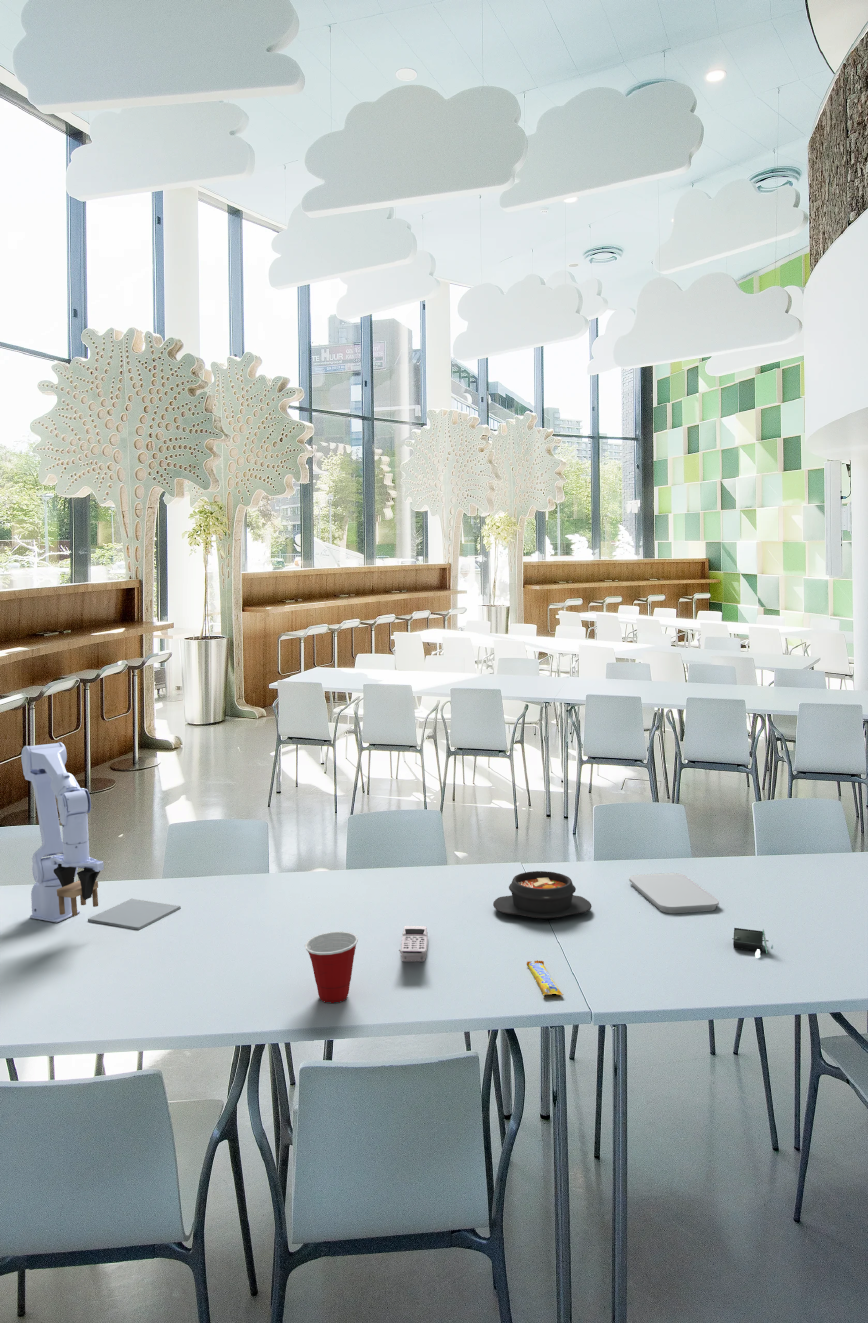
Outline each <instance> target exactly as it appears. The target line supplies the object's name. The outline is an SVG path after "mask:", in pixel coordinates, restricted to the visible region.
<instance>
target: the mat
mask: <svg viewBox="0 0 868 1323" xmlns="http://www.w3.org/2000/svg"><path fill="white" fill-rule="evenodd" d="M180 909H181V905H176V904H169V903H163V902H155V901H150V900H149V901H148V900H144V899H136V898H129V899H128V900H126V901H123V902H121V903H119V904H117V905H115V906H111V907H110V908H109V909H106V910H103V911H102V912H99V913H97V914H96V915H93V916H92V917H91V916H90V917H88V918H87V922H89V923H90V922H91V923H97V924H102V925H109V926H114V927H119V928H125V929H132V930H138V931H140V930H141V929H143V928H145V927H148V926H149V925H151V924H153V923H155V922H157V921H159V920H161V919H163V918H164V917H167V916H169V915H170V914H173V913H175V912H176V911H178V910H180Z"/></svg>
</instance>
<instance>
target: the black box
mask: <svg viewBox="0 0 868 1323" xmlns="http://www.w3.org/2000/svg"><path fill="white" fill-rule="evenodd" d="M733 929H734V930H733V938H732V940H733V949H735V950H736V949H738V950H745V951H753V952H755V953H754V957H755V958H756V959H759V958H761V953H763V944H764V948H765V953H766V955H768V951H769V950H768V946H767V945H768V944H767V942H769V940H767V939H766V934H765V933H766V932H765V929H764V928H763V929H762V930H754V929H746V928H739V927H738V928H737V927H734V928H733ZM763 942H764V943H763ZM772 948H773V947H771V949H772Z"/></svg>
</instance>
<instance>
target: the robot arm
mask: <svg viewBox="0 0 868 1323" xmlns="http://www.w3.org/2000/svg"><path fill="white" fill-rule="evenodd" d="M66 748H67V747H66V746H65V744H64V743H63V742H61V741H58V742H57V743H56V742H54V743H47V744H46V743H45V744H36V745H24V746H23V748H22V749H21V755H20V756H21V765H22V772H23V773H22V774H23V776H24V780H26V781H29V782H31V785H32V788H33V791H34V797H35V805H36V812H37V818H38V824H39V831H40V839H41V844H42V845H41V846H40V847H39V848H38V849H36V851H34V853H33V854H32V858H31V859H32V868H31V870H32V876H33V880H34V882H35V883H34V884H33V886H32V889H31V893H30V895H31V896H30V899H31V914H30V915H29V919H34V920H35V919H36V920H40V921H46V922H52V923H60V922H63V921H64V920H66V919H69V918H71V917H73V916H72V908H71V898H69V897H64V905H65V914H63V915H60V913H59V899H58V896H57V889H59V888H62V887H64V886H67V885H69V884H71V883H74V882H75V877H76V876H77V877H78V879H79V880H80V883H81V888H82V897H83V900H86V901H87V900H89V899H91V898H92V892H93V888H94V884H95V881H97V878H98V877H99V874H100V872H101V871H103V870H104V869H105V868H104V866H105V865H104V861H103V860H99V859H96V858H93V857H91V856H90V841H89V840H90V839H89V838H90V836H89V815H88V814H89V813H90V812H91V811H92V799H91V795H90V792H89V790H88V789H87V788H84V787H80V784H79V783H78V781H77V779H76V778H75V775H73V774H72V773H70V772H68V771H67V769H66V766H65V765H66V763H67V760H68V754H67V749H66ZM58 812H59V813H58ZM60 824H61V825H62V826H60ZM61 828H62V831H61ZM61 832H62V833H61ZM79 869H83V870H79ZM79 880H78V881H79ZM80 913H81V910H78V909H77V915H78V914H80Z"/></svg>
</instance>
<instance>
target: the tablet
mask: <svg viewBox="0 0 868 1323" xmlns="http://www.w3.org/2000/svg"><path fill="white" fill-rule="evenodd" d="M628 881H629V882H630V883H631V886H632V888H634V889H635V890H636V891H638V893H640V894H641V895H642V896H644V898H645V899H647V901H648V902H650V903H652V905H653V906H654V907H656V908H657V909H658V910H659V911H661V912H662V913H667V914H678V913H679V914H681V913H694V912H695V913H696V912H710V911H715V910H716V909H717V906H719V904H720V900H719V899H718V898H717V897H715V896H713V895H712V894H711V893H710V892H708V891H707V890H705V889H704V888H703V887H701V885H699V884H697V883H696V882H695V881H694V880H692V879H691V878H689V877H688V876H686V875H684V874H682V873H675V872H664V873H650V874H649V873H647V874H634V875H630V876H629V877H628Z"/></svg>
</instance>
